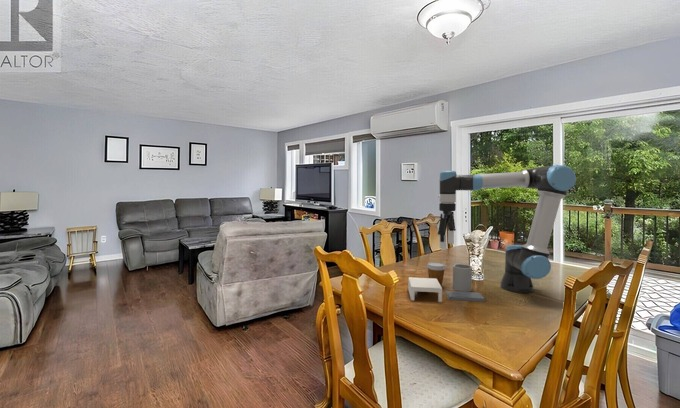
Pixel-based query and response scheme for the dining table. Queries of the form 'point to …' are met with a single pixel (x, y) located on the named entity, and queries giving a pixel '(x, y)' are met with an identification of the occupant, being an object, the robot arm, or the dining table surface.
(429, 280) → the shelf
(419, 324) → the dining table surface
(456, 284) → the cup
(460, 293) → the tile
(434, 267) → the disposable coffee cup
